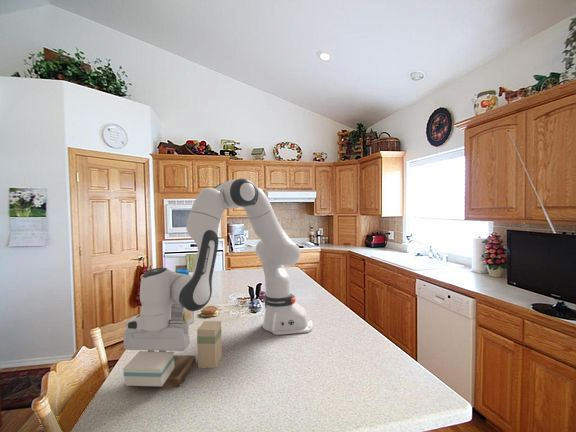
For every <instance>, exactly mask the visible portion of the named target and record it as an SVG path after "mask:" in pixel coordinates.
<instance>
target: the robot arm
mask: <svg viewBox="0 0 576 432" xmlns="http://www.w3.org/2000/svg"><path fill="white" fill-rule="evenodd" d="M237 208H242V209H244V211H245V213H246V216H247V218H248V221H249V223H250V224H251V227H252V229H253V232H254V234H255V235H256V236H257V237H258V238H259V239H260V240H259V241H258V242H257V244H256V247H255V253H256V255H257V257H258V259H259V261H260V263H261V267H262V270H263V274H264V283H265V284H264V286H265V293H264V301H263V302H264V308H265V311H264V317H263V322H262V328H263V329H264V330H265V331H268V332H270V333H272V334H273V335H274V336H279V335H290V334H291V335H292V334H303V333H310V332H311V331H312V330H313V328H314V323H313V320H312V319H311V318H310V317H309V316H308V314H307V313H308V312H307V311H306V309H305V308H304V307H303V306H302V305H300V304H298V303H297V302H296V301H297V300H296V299H297V298H296V297H295V294H294V293H291V277H290V275H289V273H288V272H287V270H286V268H285V267H290V266H295V265H296V264H297V263H298V262H299V261H300V258H301V249H300V247H299V245H297V244H296V243H295V242H294V241H293V240H292V239H291V238H290V237H289V235H288V234H287V232H286V231H285V230H284V228H283V227H282V225H281V224H280V222H279V220H278V218H277V216H276V214H275V211H274V208H273V206H272V203H271V202H270V200H269V198H268V197H267V195H266V193H265V192H264V190H263V189H262V188H260V187H256V185H255V184H254V183H253V182H252V181H251V180H249V179H247V178H237V179H230V180H228V181H226V182H225V181H224V182H223V183H222V182H221V183H219V184H217V185H216V186H215V187H204V188H202V189H201V190H200V191H199V193H198V194H197V195H196V198H195V200H194V202H193V203H192V206H191V208H190V212H189V214H188V218H187V220H186V232H187V233H188V236H189V237H190V238H191V239H192V240H193V241H194V243H195V245H196V247H197V254H196V259H195V262H194V263H195V264H194V268H193V272H192V275H190V274H189V275H186V274H181V273H176V272H175V271H172V270H170V269H169V268H167V267H156V268H153V269H149V270H147V271H145V273H143V274H142V276H141V280H140V286H139V301H140V303H141V309H140V313H139V314H137V315H134V316H132V318H130V319H129V320H127V321H125V323H124V329H125V330H124V331H123V332H124V333H123V347H124V349H125V350H127V351H157V352H184V351H185V350H186V349H187V348H189V345H190V336H189V335H190V334H189V325H188V324H187V323H186V322H184V320H171V306H172V304H175V303H177V304H179V305H182V306H183V307H184V308H186V309H187V310H189V311H194V312H197V311H199V310H200V311H201V310H203V308H205V307H207V305H208V303H209V302H210V300H211V298H212V293H213V275H214V269H215V265H216V259H217V253H218V248H219V236H218V235H219V234H218V233H219V227H220V223H221V220H222V215H223V213H224V211H225V210H228V209H230V210H231V209H237Z"/></svg>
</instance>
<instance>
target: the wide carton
mask: <svg viewBox="0 0 576 432" xmlns="http://www.w3.org/2000/svg"><path fill="white" fill-rule="evenodd" d="M174 355H175V354H174V351H166V352H159V351H157V350H155V351H148V350H138V352H137V354H135V355H134V357H132V359H131V360H130V361H129V362H128V363H127V364H126V365H125V366H124V367H123V378H124V383H125V384H124V385H125V386H128V387H131V386H132V387H164V386H163V384H164V383H165V381H166V380H167V378H168V377H169V375H170V374H171V372H172V371H173V370H174V368H175V366H174Z"/></svg>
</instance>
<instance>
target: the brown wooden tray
mask: <svg viewBox="0 0 576 432" xmlns="http://www.w3.org/2000/svg"><path fill="white" fill-rule="evenodd" d="M196 360H197V359H196V355H189V354H188V355H186V354H185V355H184V354H182V355H181V354H178V355H177V354H176V355H175V354H174V366H175V368H174V370H173V371H172V372H171V374H170V375H169V377H168V378H167V380H166V381H165V383H164V384H163V386H162V387H165V386H179V387H181V385H182V384H183V382H184V381H185V379H186V377H187V376H188V375H187V374H189V373H190V372H191V370H192V369H193V367H194V366H195V364H196ZM180 384H181V385H180Z"/></svg>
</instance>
